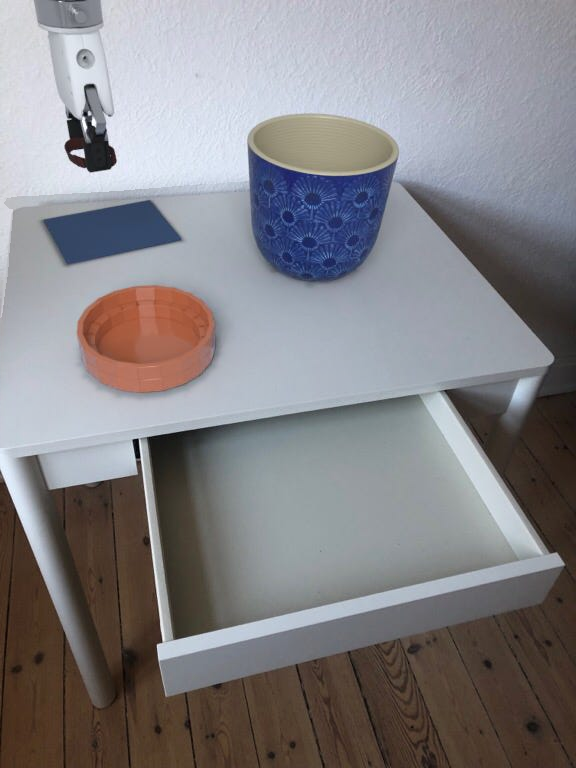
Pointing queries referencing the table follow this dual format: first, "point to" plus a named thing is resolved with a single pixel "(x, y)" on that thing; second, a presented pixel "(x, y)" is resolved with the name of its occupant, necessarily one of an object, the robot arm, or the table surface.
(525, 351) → the table surface
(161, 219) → the mat
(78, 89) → the robot arm
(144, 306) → the bowl
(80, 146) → the watch
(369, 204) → the planter
